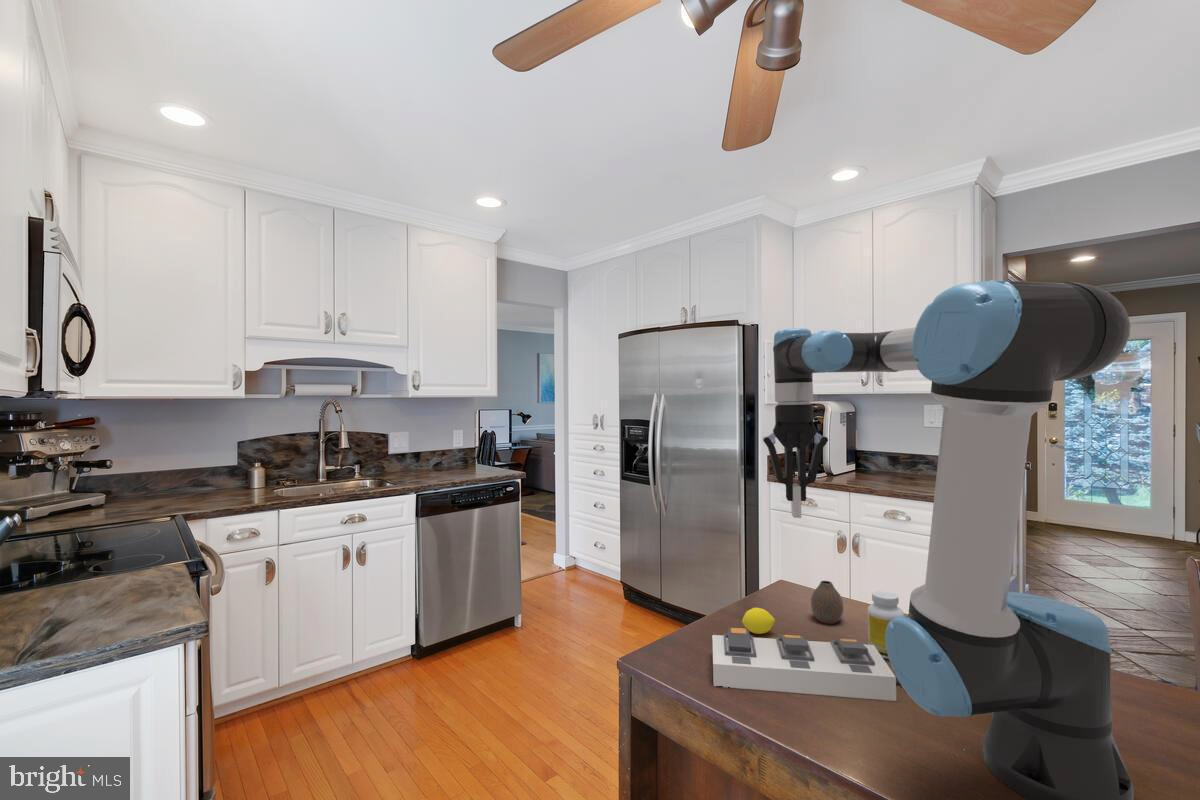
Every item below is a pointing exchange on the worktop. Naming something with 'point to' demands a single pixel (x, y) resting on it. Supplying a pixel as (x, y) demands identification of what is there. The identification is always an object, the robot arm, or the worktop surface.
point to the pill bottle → (881, 618)
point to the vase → (827, 603)
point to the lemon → (758, 620)
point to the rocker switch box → (803, 669)
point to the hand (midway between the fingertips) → (796, 516)
